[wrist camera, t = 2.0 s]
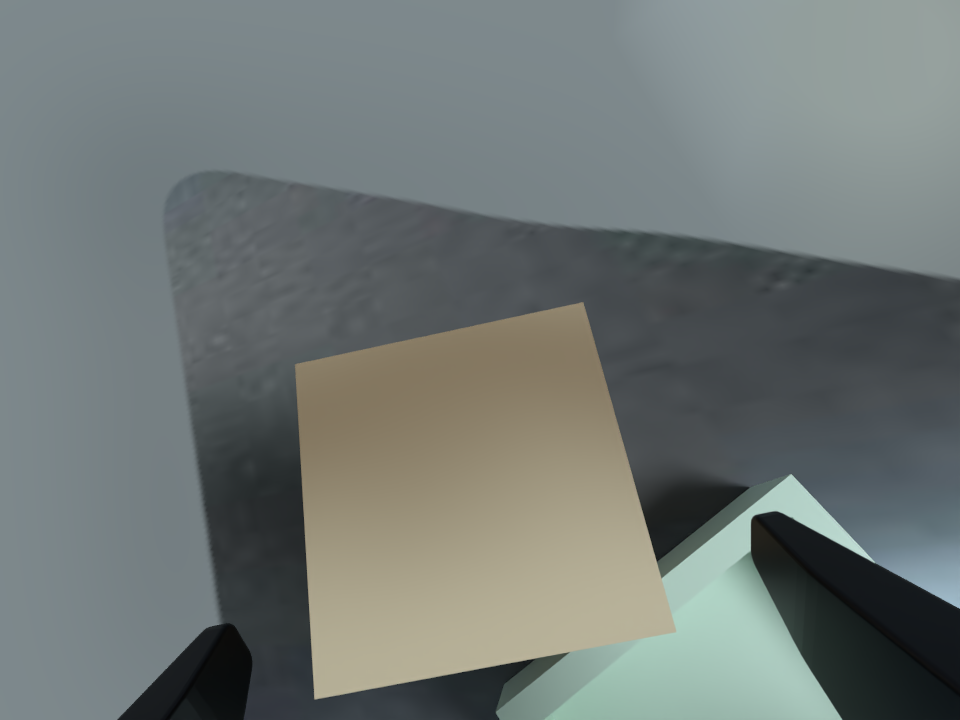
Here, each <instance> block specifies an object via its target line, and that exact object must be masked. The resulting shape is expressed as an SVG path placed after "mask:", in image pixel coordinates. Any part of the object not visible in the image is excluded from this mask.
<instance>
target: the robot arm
mask: <svg viewBox="0 0 960 720" xmlns="http://www.w3.org/2000/svg"><path fill="white" fill-rule="evenodd" d="M751 556H752V559H753V562H754V565H755V567H756V569H757V571H758V573H759V575H760V577H761V579H762V581H763V583H764V585H765V586H766V588H767V590H768V592H769V594H770V596H771V598H772V600H773V602H774V604H775V606H776V608H777V610H778V612H779V614H780V616H781V618H782V620H783V621H784V623H785V625H786V627H787V629H788V631H789V633H790V635H791V637H792V639H793V641H794V643H795V645H796V646H797V648H798V650H799V652H800V654H801V656H802V657H803V659H804V661H805V662H806V664H807V666H808V667H809V669H810V670H811V672H812V674H813V675H814V677H815V678H816V680H817V681H818V683H819V684H820V686H821V688H822V689H823V691H824V692H825V694H826V695H827V697H828V698H829V700H830V701H831V703H832V705H833V706H834V708H835V709H836V711H837V712H838V714H839V715H840V717H841V718H842V720H960V609H959V608H957V607H955V606H953V605H952V604H950V603H948V602H946V601H944V600H942V599H941V598H939V597H937V596H935V595H933V594H931V593H929V592H928V591H926V590H924V589H922V588H920V587H918V586H916V585H915V584H913V583H911V582H909V581H907V580H905V579H904V578H902V577H900V576H898V575H896V574H894V573H892V572H891V571H889V570H887V569H885V568H883V567H881V566H879V565H878V564H876V563H874V562H872V561H870V560H868V559H867V558H865V557H863V556H861V555H859V554H857V553H855V552H854V551H852V550H850V549H848V548H846V547H844V546H842V545H841V544H839V543H837V542H835V541H833V540H831V539H830V538H828V537H826V536H824V535H822V534H820V533H818V532H817V531H815V530H813V529H811V528H809V527H807V526H805V525H804V524H802V523H800V522H798V521H796V520H794V519H792V518H791V517H789V516H787V515H785V514H783V513H781V512H778V511H772V512H767V513H762V514H757V515H754V516H753V517H752V519H751ZM251 672H252V656H251V653H250V651H249V649H248V647H247V646H246V644H245V642H244V641H243V639H242V637H241V636H240V634H239V632H238V631H237V629H236V628H235V626H234V625H232V624H230V623H226V624H221V625H216V626H212V627H209V628H206V629H205V630H204V631H203V632H202V633H201V634H200V635H199V636H198V637H197V638H196V639H195V640H194V641H193V642H192V643H191V644H190V645H189V646H188V647H187V648H186V649H185V650H184V651H183V652H182V653H181V654H180V655H179V656H178V657H177V658H176V660H175V661H174V662H173V663H172V664H171V665H170V666H169V667H168V668H167V669H166V670H165V671H164V672H163V673H162V674H161V675H160V676H159V677H158V678H157V679H156V680H155V682H153V683H152V685H151V686H149V687H148V689H147V690H146V691H145V692H144V693H143V694H142V695H141V696H140V697H139V698H138V699H137V700H136V701H135V702H134V703H133V704H132V705H131V706H130V707H129V708H128V709H127V710H126V712H124V713H123V714H122V715H121V716H120V718H119V719H118V720H244V714H245V708H246V702H247V696H248V690H249V684H250V678H251Z"/></svg>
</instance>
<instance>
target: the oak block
mask: <svg viewBox="0 0 960 720" xmlns="http://www.w3.org/2000/svg"><path fill="white" fill-rule="evenodd" d="M295 371H296V388H297V405H298V422H299V439H300V457H301V474H302V491H303V508H304V526H305V543H306V560H307V577H308V594H309V612H310V629H311V646H312V663H313V681H314V698H315V699H320V698H325V697H331V696H336V695H342V694H347V693H352V692H358V691H363V690H368V689H374V688H379V687H385V686H390V685H395V684H401V683H406V682H411V681H417V680H422V679H428V678H433V677H438V676H444V675H449V674H454V673H460V672H465V671H470V670H476V669H481V668H487V667H492V666H497V665H503V664H508V663H513V662H519V661H524V660H530V659H535V658H540V657H546V656H551V655H556V654H562V653H567V652H573V651H578V650H583V649H589V648H594V647H599V646H605V645H610V644H615V643H621V642H626V641H632V640H637V639H642V638H648V637H653V636H658V635H664V634H669V633H675V632H676V628H675V625H674V621H673V618H672V614H671V610H670V607H669V603H668V600H667V596H666V593H665V589H664V586H663V582H662V579H661V575H660V572H659V568H658V565H657V561H656V558H655V554H654V550H653V547H652V543H651V540H650V536H649V533H648V529H647V526H646V522H645V519H644V515H643V512H642V508H641V505H640V501H639V498H638V494H637V491H636V487H635V483H634V480H633V476H632V473H631V469H630V466H629V462H628V459H627V455H626V452H625V448H624V445H623V441H622V438H621V434H620V431H619V427H618V423H617V420H616V416H615V413H614V409H613V406H612V402H611V399H610V395H609V392H608V388H607V385H606V381H605V378H604V374H603V371H602V367H601V363H600V360H599V356H598V353H597V349H596V346H595V342H594V339H593V335H592V332H591V328H590V325H589V321H588V318H587V314H586V311H585V307H584V303H583V302H582V303H578V304H573V305H568V306H564V307H559V308H555V309H550V310H545V311H541V312H536V313H531V314H527V315H522V316H517V317H513V318H508V319H503V320H499V321H494V322H490V323H485V324H480V325H476V326H471V327H466V328H462V329H457V330H452V331H448V332H443V333H438V334H434V335H429V336H425V337H420V338H415V339H411V340H406V341H401V342H397V343H392V344H387V345H383V346H378V347H373V348H369V349H364V350H360V351H355V352H350V353H346V354H341V355H336V356H332V357H327V358H322V359H318V360H313V361H308V362H304V363H299V364H295Z"/></svg>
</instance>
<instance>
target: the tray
mask: <svg viewBox="0 0 960 720" xmlns="http://www.w3.org/2000/svg"><path fill="white" fill-rule="evenodd" d="M772 511H778V512H781V513H783V514H785V515H787V516H789V517H791V518H792V519H794V520H796V521H798V522H800V523H802V524H804V525H805V526H807V527H809V528H811V529H813V530H815V531H817V532H818V533H820V534H822V535H824V536H826V537H828V538H830V539H831V540H833V541H835V542H837V543H839V544H841V545H842V546H844V547H846V548H848V549H850V550H852V551H854V552H855V553H857V554H859V555H861V556H863V557H865V558H867V559H868V560H870V561H872V562H874V561H873V560H872V559H871V558H870V557H869V556H868V555H867V553H866V552H865V551H864V550H863V549H862V548H861V547H860V546H859V545H858V544H857V543H856V542H855V541H854V540H853V539H852V538H851V537H850V536H849V535H848V533H847V532H846V531H845V530H844V529H843V528H842V527H841V526H840V525H839V524H838V523H837V522H836V521H835V520H834V519H833V518H832V517H831V516H830V515H829V513H828V512H827V511H826V510H825V509H824V508H823V507H822V506H821V505H820V504H819V503H818V502H817V501H816V500H815V499H814V498H813V497H812V496H811V495H810V493H809V492H808V491H807V490H806V489H805V488H804V487H803V486H802V485H801V484H800V483H799V482H798V481H797V480H796V479H795V478H794V477H793V476H792V475H791V474H790V475H787V476H784V477H780V478H777V479H774V480H771V481H768V482H765V483H761V484H758V485H755V486H752V487H750V488H749V489H747V490H746V491H745V492H744V493H742V494H741V495H740V496H739V497H737V498H736V499H735V500H734V501H732V502H731V503H730V504H729V505H727V506H726V507H725V508H724V509H722V510H721V511H720V512H719V513H718V514H716V515H715V516H714V517H713V518H711V519H710V520H709V521H708V522H706V523H705V524H704V525H703V526H701V527H700V528H699V529H698V530H696V531H695V532H694V533H693V534H691V535H690V536H689V537H688V538H686V539H685V540H684V541H683V542H681V543H680V544H679V545H678V546H676V547H675V548H674V549H673V550H671V551H670V552H669V553H668V554H666V555H665V556H664V557H663V558H661V559H660V560H659V561H658V562H657V565H658V568H659V572H660V575H661V579H662V582H663V586H664V589H665V593H666V596H667V600H668V603H669V607H670V610H671V614H672V618H673V621H674V625H675V628H676V632H675V633H669V634H664V635H658V636H653V637H648V638H642V639H637V640H632V641H626V642H621V643H615V644H610V645H605V646H599V647H594V648H589V649H583V650H578V651H573V652H567V653H562V654H556V655H551V656H546V657H540V658H536V659H535V660H534V661H533V662H531V663H530V664H529V665H528V666H526V667H525V668H524V669H523V670H521V671H520V672H519V673H518V674H516V675H515V676H514V677H513V678H511V679H510V680H509V681H508V682H506V683H505V684H504V686H503V689H502V692H501V696H500V699H499V702H498V706H497V709H496V714H497V716H498V717H499V719H500V720H842V718H841V717H840V715H839V714H838V712H837V711H836V709H835V708H834V706H833V705H832V703H831V701H830V700H829V698H828V697H827V695H826V694H825V692H824V691H823V689H822V688H821V686H820V684H819V683H818V681H817V680H816V678H815V677H814V675H813V674H812V672H811V670H810V669H809V667H808V666H807V664H806V662H805V661H804V659H803V657H802V656H801V654H800V652H799V650H798V648H797V646H796V645H795V643H794V641H793V639H792V637H791V635H790V633H789V631H788V629H787V627H786V625H785V623H784V621H783V620H782V618H781V616H780V614H779V612H778V610H777V608H776V606H775V604H774V602H773V600H772V598H771V596H770V594H769V592H768V590H767V588H766V586H765V585H764V583H763V581H762V579H761V577H760V575H759V573H758V571H757V569H756V567H755V565H754V562H753V559H752V556H751V519H752V517H753V516H754V515H757V514H762V513H767V512H772ZM874 563H875V562H874Z"/></svg>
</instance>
